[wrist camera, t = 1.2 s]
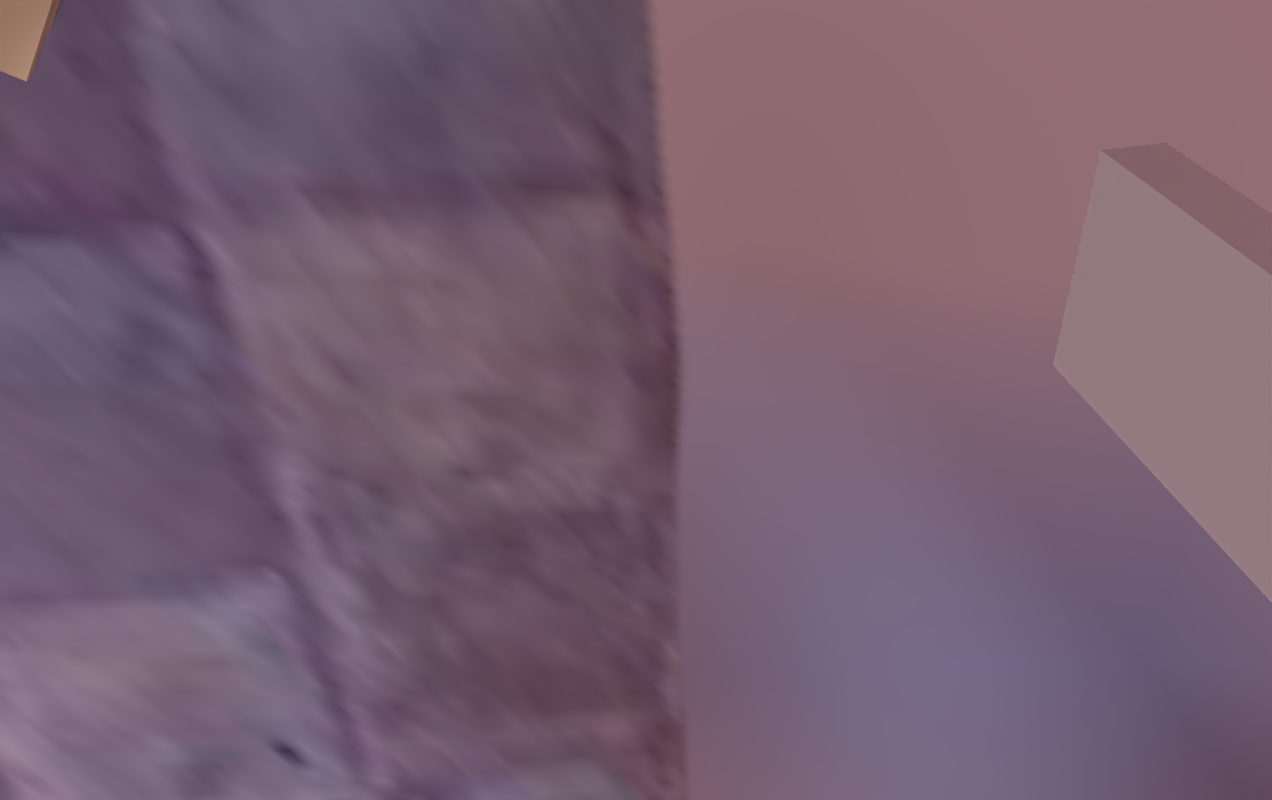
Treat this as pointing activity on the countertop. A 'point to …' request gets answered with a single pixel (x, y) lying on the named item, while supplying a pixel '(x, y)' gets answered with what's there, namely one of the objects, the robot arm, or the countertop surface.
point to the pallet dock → (24, 34)
